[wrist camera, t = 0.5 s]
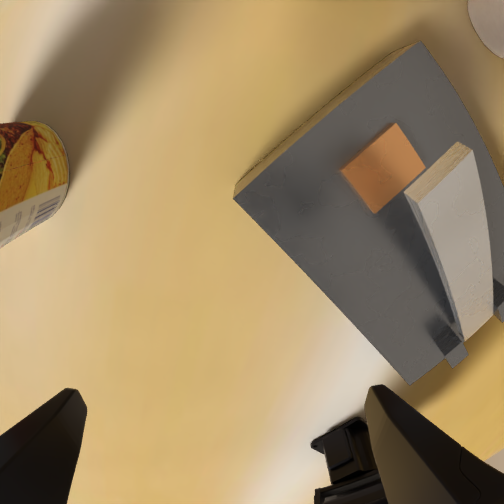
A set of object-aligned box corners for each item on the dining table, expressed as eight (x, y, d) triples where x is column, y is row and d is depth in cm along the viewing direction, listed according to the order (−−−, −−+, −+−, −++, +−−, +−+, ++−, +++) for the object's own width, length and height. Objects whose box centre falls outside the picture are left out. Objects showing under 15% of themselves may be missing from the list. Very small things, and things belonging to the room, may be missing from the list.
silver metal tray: (503, 255, 22) (544, 284, 16) (393, 355, 25) (418, 402, 20) (391, 52, 16) (438, 33, 11) (235, 184, 20) (231, 208, 14)
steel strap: (487, 307, 18) (493, 314, 18) (459, 334, 19) (464, 341, 18) (457, 141, 9) (472, 149, 8) (403, 192, 10) (417, 203, 9)
